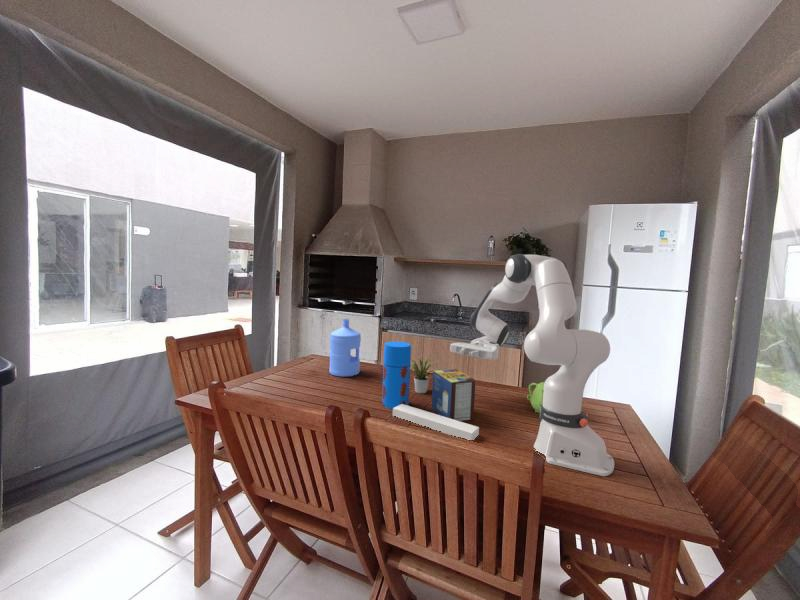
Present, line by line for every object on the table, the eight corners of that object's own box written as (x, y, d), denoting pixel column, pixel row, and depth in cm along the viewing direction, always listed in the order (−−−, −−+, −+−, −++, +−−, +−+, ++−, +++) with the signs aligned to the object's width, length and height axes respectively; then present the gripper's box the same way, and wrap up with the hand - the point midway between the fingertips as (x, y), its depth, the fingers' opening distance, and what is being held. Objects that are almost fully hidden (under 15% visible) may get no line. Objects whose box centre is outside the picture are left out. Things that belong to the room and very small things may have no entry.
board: (478, 435, 124) (479, 427, 124) (471, 442, 119) (471, 433, 119) (401, 411, 142) (402, 403, 142) (392, 415, 137) (392, 408, 137)
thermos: (377, 401, 151) (380, 342, 149) (400, 398, 156) (403, 340, 154) (389, 411, 142) (391, 348, 140) (413, 407, 147) (416, 346, 144)
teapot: (576, 421, 140) (579, 389, 139) (539, 420, 139) (542, 388, 138) (556, 405, 156) (559, 376, 155) (523, 404, 155) (526, 375, 154)
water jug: (327, 377, 182) (328, 321, 179) (331, 368, 197) (332, 317, 195) (359, 377, 183) (360, 322, 181) (360, 368, 199) (361, 317, 196)
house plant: (438, 386, 174) (439, 353, 172) (440, 397, 160) (442, 360, 158) (408, 385, 174) (409, 351, 173) (408, 395, 160) (409, 359, 159)
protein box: (453, 405, 151) (455, 368, 150) (473, 420, 137) (476, 379, 135) (430, 407, 147) (432, 370, 146) (449, 423, 133) (451, 381, 132)
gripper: (458, 337, 165) (443, 342, 154) (502, 344, 154) (490, 350, 142) (457, 351, 166) (443, 356, 155) (501, 359, 154) (489, 366, 143)
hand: (466, 353), depth 148 cm, fingers open, 2 cm apart
